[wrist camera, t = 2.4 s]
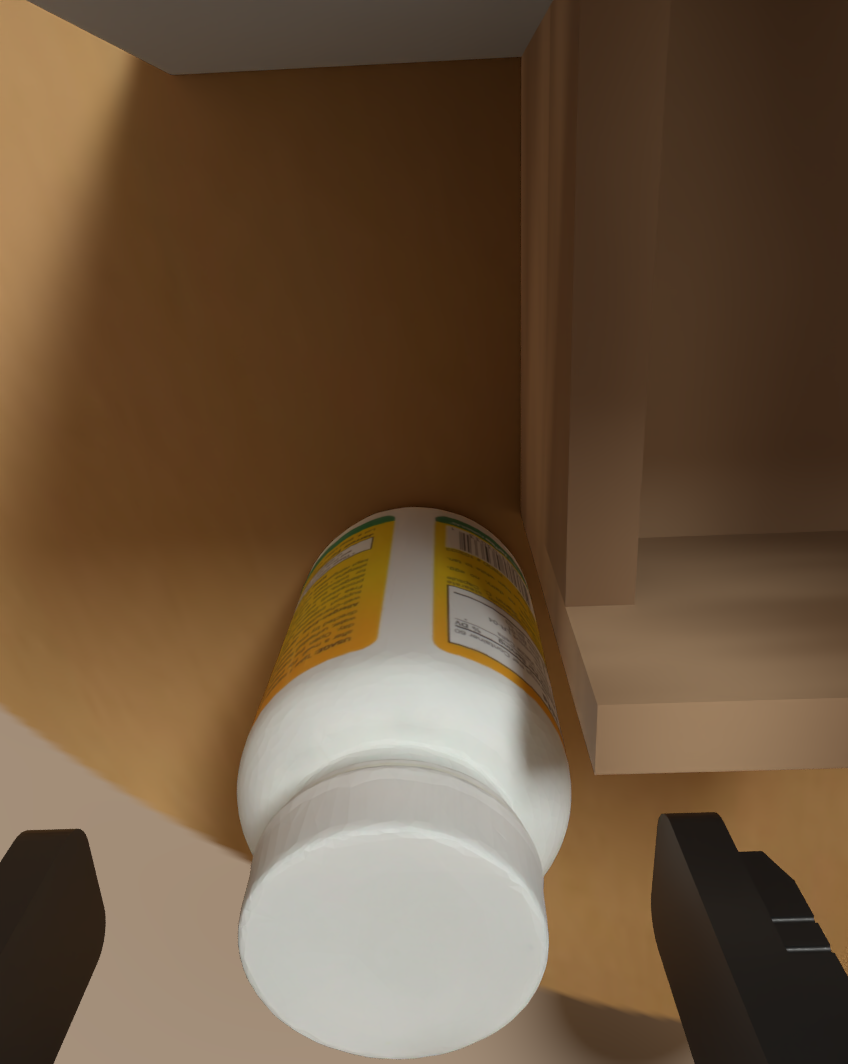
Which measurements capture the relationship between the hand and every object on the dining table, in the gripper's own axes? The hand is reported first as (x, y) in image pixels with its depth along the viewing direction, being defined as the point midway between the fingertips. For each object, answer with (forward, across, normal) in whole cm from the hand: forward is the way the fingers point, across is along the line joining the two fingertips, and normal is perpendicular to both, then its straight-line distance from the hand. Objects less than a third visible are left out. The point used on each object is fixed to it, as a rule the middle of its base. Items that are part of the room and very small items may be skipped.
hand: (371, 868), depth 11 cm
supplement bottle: (+8, 0, 0) cm, 9 cm away
